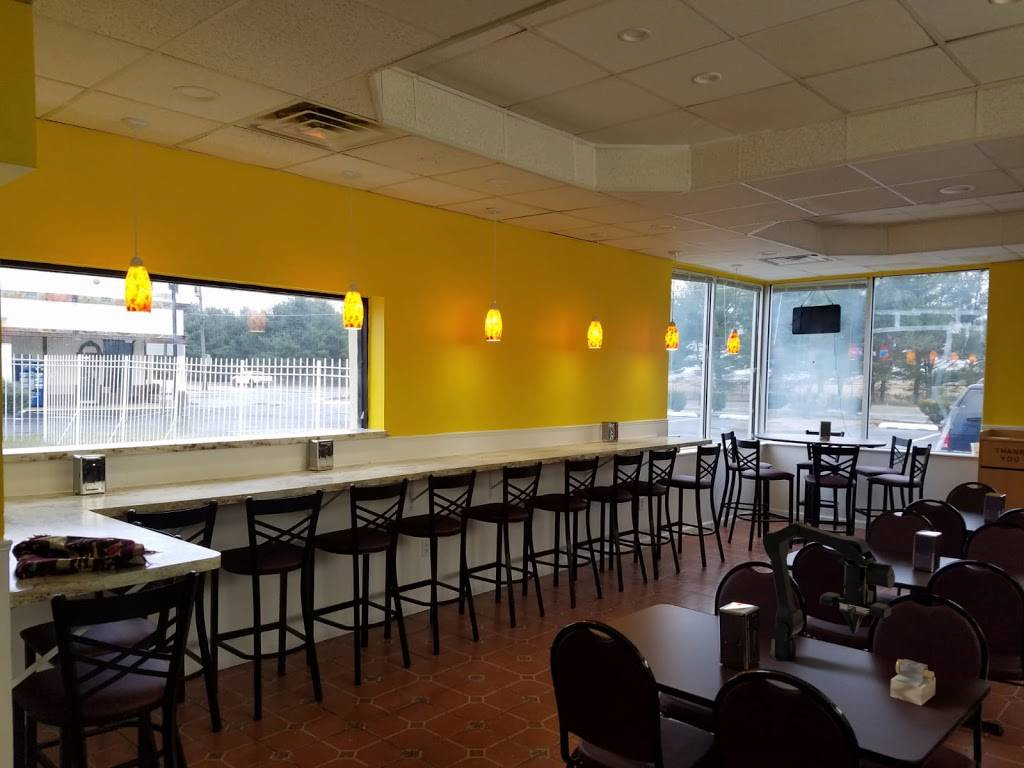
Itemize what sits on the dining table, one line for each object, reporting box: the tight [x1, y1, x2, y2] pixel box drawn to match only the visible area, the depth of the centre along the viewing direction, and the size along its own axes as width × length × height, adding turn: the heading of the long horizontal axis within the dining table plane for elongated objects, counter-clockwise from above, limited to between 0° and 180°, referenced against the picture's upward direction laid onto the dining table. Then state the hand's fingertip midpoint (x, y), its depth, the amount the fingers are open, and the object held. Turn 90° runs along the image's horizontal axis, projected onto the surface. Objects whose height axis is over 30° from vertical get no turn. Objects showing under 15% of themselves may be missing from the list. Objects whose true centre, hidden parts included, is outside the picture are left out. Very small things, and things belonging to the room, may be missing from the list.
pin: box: [895, 658, 935, 680], centre depth 214 cm, size 9×4×4 cm, turn 44°
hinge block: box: [890, 658, 936, 706], centre depth 214 cm, size 8×11×9 cm
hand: (853, 633), depth 226 cm, fingers closed
